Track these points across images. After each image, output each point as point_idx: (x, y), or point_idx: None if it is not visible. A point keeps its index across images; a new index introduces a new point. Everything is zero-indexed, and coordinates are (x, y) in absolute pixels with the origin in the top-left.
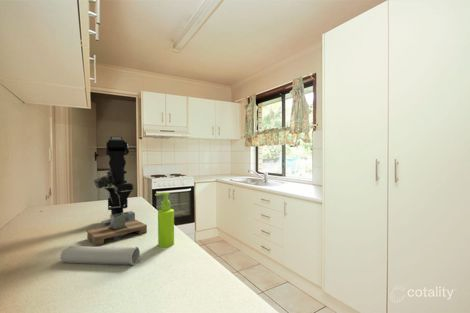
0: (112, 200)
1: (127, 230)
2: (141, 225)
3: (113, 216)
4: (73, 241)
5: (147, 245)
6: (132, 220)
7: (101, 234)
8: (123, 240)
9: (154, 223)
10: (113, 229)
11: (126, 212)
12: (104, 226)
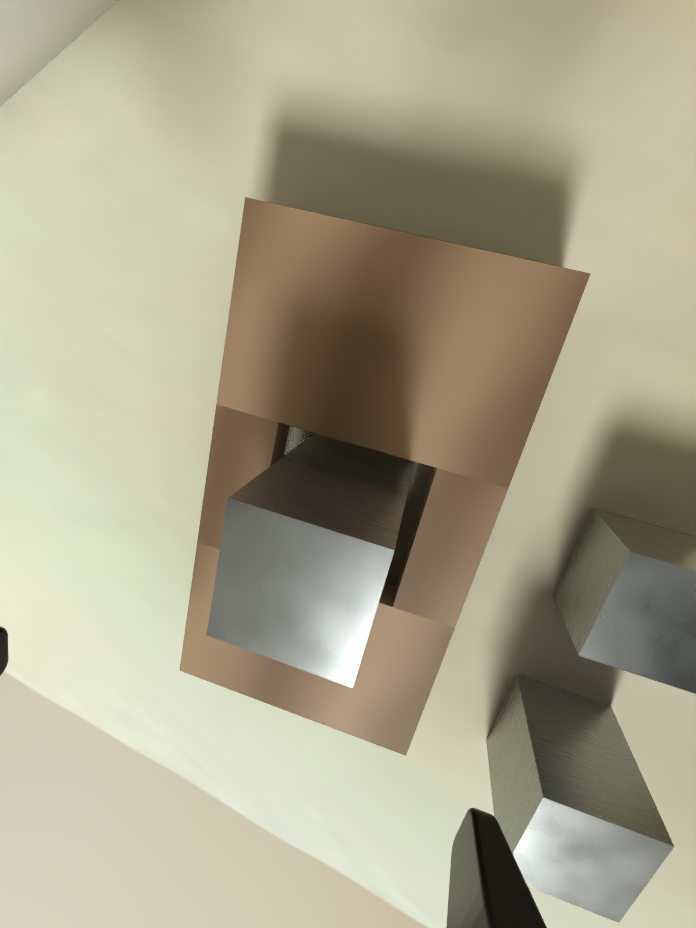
0: (482, 919)
1: (205, 513)
2: (202, 645)
3: (259, 513)
4: (648, 153)
5: (5, 454)
6: (498, 767)
7: (278, 292)
8: None
9: (356, 802)
10: (313, 453)
11: (622, 867)
12: (627, 535)
